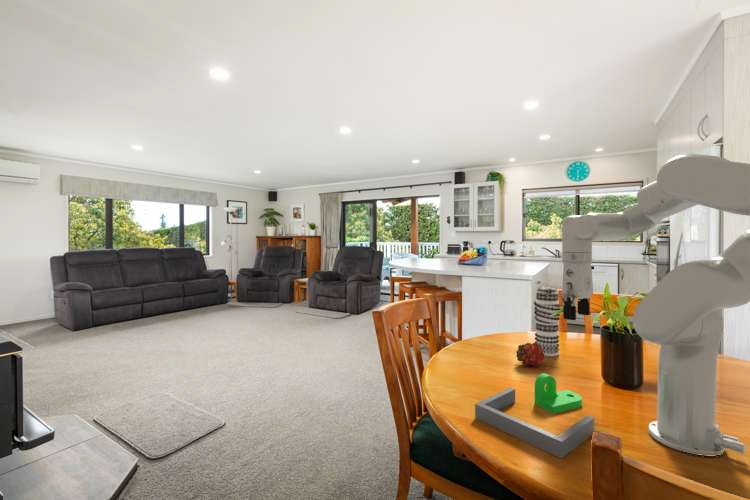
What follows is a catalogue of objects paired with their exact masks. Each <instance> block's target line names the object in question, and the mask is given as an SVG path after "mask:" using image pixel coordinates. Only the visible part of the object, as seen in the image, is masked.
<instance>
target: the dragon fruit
mask: <svg viewBox="0 0 750 500" xmlns="http://www.w3.org/2000/svg"><path fill="white" fill-rule="evenodd" d="M545 358H546V356H545V355H544V354H543V348H542V347H541V346H538V345H537V344H536V343H535V342H532V343H530V342H527V343H524V344H519V345H518V346H517V350H516V359H517V361H519V362H521V363H522V364H523V366H526V367H530V366H533V367H536V368H538V367H539V366H540V364H541V363H542V362H543V361H544V359H545Z"/></svg>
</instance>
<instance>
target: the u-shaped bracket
mask: <svg viewBox="0 0 750 500" xmlns="http://www.w3.org/2000/svg"><path fill="white" fill-rule="evenodd" d="M515 402H516V389H515V388H513V387H508V388H506V389H503V390H501V391H500V392H498V393H495V394H493V395H491V396H490V397H486V398H485V399H482V400H480V401H478V402H476V403H475V405H474V408H475V409H474V412H475V414H474V416H475V417H474V418H475V419H476V420H479V421H481V422H483V423H485V424H487V425H489V426H492V427H494V428H496V429H498V430H500V431H502V432H504V433H507V434H509V435H510V436H512V437H515V438H517V439H519V440H521V441H523V442H525V443H527V444H529V445H532V446H533V447H536V448H538V449H540V450H542V451H545V452H546V451H547V452H546V453H548V452H549V453H548V454H550V453H551V454H550V455H552V454H554V455H553V456H555V457H557V456H558V457H557V458H559V457H560V458H559V459H561V458H562V459H564V458H565V457H566V456H567V455H569V454H570V453H571V452H573V451H574V450H575V449H577V447H579V446H580V445H581V444H583V442H584V441H585V439H586V438H587V437H588V438H589V437H590V436H592V435H593V434H594V433H595V417H594V416H591V415H588V414H587V415H585V416H584V417H582V418H581V419H579V420H578V421H577V422H576V423H574V424H573V425H571V426H570V427H569V428H566V430H564V431H563V432H562V433H560V434H559V435H556V434H554V433H551V432H549V431H547V430H545V429H542V428H540V427H538V426H535V425H533V424H531V423H528V422H526V421H523V420H522V419H519V418H517V417H514V416H513V415H509V414H507V413H506V412H502V411H501V410H503V409H504V408H506V407H508V406H510V405H512V404H514V403H515ZM593 432H594V433H593ZM592 433H593V434H592ZM588 438H587V439H588ZM587 439H586V440H587ZM574 448H575V449H574ZM570 451H571V452H570ZM569 452H570V453H569ZM568 453H569V454H568ZM566 454H567V455H566ZM565 455H566V456H565ZM564 456H565V457H564ZM563 457H564V458H563Z"/></svg>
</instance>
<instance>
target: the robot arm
mask: <svg viewBox="0 0 750 500" xmlns="http://www.w3.org/2000/svg"><path fill="white" fill-rule="evenodd" d="M636 202H637V204H636V205H634V206H632V207H629V208H627V209H625V210H623V211H620V212H590V213H586V214H582V215H569V216H565V217H563V219H562V222H561V223H562V224H561V226H562V227H561V233H562V234H561V239H562V240H561V246H562V247H561V248H562V249H561V251H562V252H561V254H562V255H561V258H562V259H561V260H562V262H561V263H562V264H563V270H562V290H561V296H562V298H561V300H562V307H563V308H562V309H563V310H562V311H563V315H562V318H563V319H564V320H567V321H576V320H577V315H581V316H590V312H591V311H590V309H591V306H590V305H591V302H590V301H591V296H593V294H594V286H593V285H594V284H593V282H594V281H593V270H592V263H593V242H603V241H604V242H605V241H609V242H610V241H612V242H613V241H622V240H623V241H624V240H627V239H629V238H633V237H635V236H637V235H640V234H643V233H645V232H647V231H650V230H652V229H654V228H655V227H656V226H658V224H660V223H661V222H662V221H663V220H665V219H666V218H668V217H671V216H673V215H676V214H679V213H681V212H683V211H685V210H686V211H687V210H689V209H691V208H693V207H695V206H698V205H699V206H703V207H707V208H711V209H713V210H717V211H723V212H725V213H728V214H729V213H730V214H735V215H740V216H750V163H746V162H739V161H733V160H729V159H727V158H724V157H722V156H718V155H717V156H716V155H708V154H697V153H688V154H687V153H685V154H681V155H678V156H677V155H676V156H675V157H673V158H671V159H669V160H668V161H667V162H665V163H664V164H663V165H662V166H661V167H660V169H659V171H658V172H657V174H656V180H654V181H652V182H651V183H649V184H647V185H645V186H643V187H641V188H640V189H639V190H638V192H637V194H636ZM577 299H578V300H577ZM576 301H577V305H575V304H576ZM748 303H750V228H749V229H747V230H746V231H744V232H743V233H741V234H740V235H739V236H738V237H736V239H735V240H734V241H733V242H732V243H731V244H730V245H729V246H727V248H726V249H724V250H723V251H722V252H721V253H720V254H718V255H717V256H715V257H714V258H712V259H711V258H710V259H701V260H700V259H699V260H698V259H697V260H691V261H687V262H684V263H682V264H679V265H678V266H676V267H673V269H672V270H670V271H669V272H668V273H667V274H666V275H665V276H663V278H662V279H661V280H660V281H659V282H658V283H657V284H656V285H655V286H654V287H653V288H652V289H651V290H650V291H649V292H648V293H647V294H646V295H645V296H644V297H643V298H642V299H641V301H639V303H637V305H636V307H635V309H634V311H633V314H632V326H633V328H634V330H635V332H636V334H637V335H638V336H639V337H641V338H642V339H643V340H644V341H646V342H648V343H651V344H655V345H660V346H659V351H658V352H659V353H658V361H657V362H658V364H657V400H656V401H657V403H656V404H657V406H656V407H657V408H656V409H657V411H656V420H655V421H651V422H649V424H648V433H649V435H650V436H651V437H653V439H655V440H656V441H657V442H659V443H661V444H663V445H664V446H666V447H669V448H670V449H673V450H675V449H676V450H675V451H678V450H679V452H681V451H683V452H682V453H684V452H689V453H693V454H702V455H718V454H722V453H723V452H724V451H726V449H729V450H731V451H733V452H736V453H740V454H742V455H745V453H746V452H745V451H746V444H745V443H743V442H740V441H739V438H738V437H736V436H731V435H729V434H724V433H723V432H722V431H720V425H719V424H716V402H717V401H716V399H717V398H716V397H717V395H716V393H717V375H718V373H717V370H718V355H719V347H720V345H721V339H722V337H723V332H724V317H723V314H722V313H721V310H725V309H732V308H738V307H741V306H743V305H747V304H748ZM724 453H725V452H724ZM722 455H723V454H722Z"/></svg>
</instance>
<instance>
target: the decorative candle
mask: <svg viewBox="0 0 750 500" xmlns="http://www.w3.org/2000/svg"><path fill="white" fill-rule="evenodd" d="M535 292H536V295H535V296H536V298H535V301H534V302H533V304H534V308H533V309H534V315H535V316H534V322H535V323H536V324H535V333H534V336H535V337H534V340H535V341H534V343H536V344H537V345H538V346H541V347H542V348H543V354H544V356H545V357H556V356H559V354H560V352H559V351H560V348H559V347H560V344H559V342H560V340H559V338H560V335H559V325H560V322H559V321H560V320H561V319H560V317H559V316H561V314H560V313H559V314H557V315H555V317H554V316H551V315H552V314H551V313H553V312H554V311H556V310H557V311H558V310H560V311H561V308H560V307H561V304H560V303H559V302H560V301H559V291H557V289H556V288H555V287H551V286H550V287H549V286H542V287H541V286H540V287H538V288H537V290H536V291H535ZM558 312H559V311H558ZM553 314H554V313H553Z"/></svg>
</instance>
